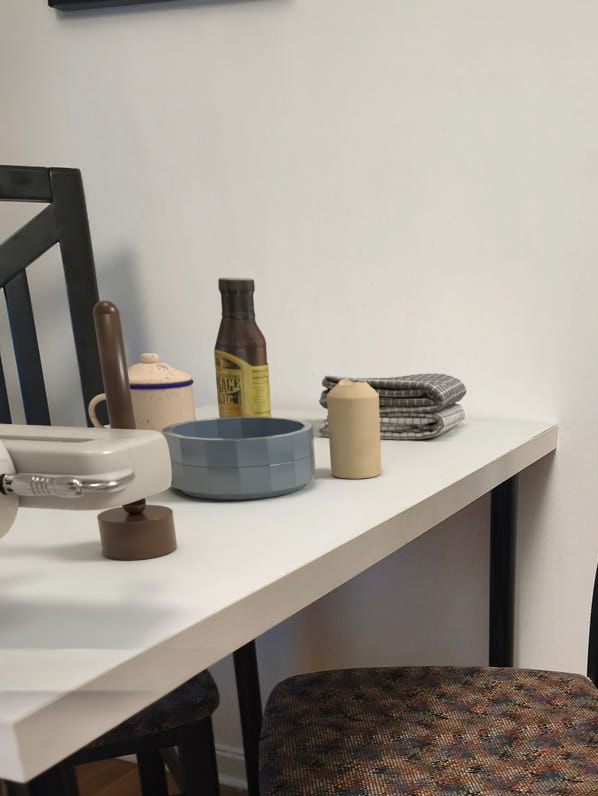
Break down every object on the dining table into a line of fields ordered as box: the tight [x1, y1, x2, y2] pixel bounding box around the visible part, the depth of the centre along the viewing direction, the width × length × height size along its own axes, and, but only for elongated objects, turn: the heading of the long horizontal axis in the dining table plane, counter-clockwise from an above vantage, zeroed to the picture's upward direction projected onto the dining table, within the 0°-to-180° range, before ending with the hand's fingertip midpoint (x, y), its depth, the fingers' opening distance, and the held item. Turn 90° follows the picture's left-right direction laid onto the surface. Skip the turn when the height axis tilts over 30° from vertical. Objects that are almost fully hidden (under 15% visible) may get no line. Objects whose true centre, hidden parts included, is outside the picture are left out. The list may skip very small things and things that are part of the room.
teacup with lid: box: [88, 352, 197, 435], centre depth 105 cm, size 12×9×12 cm
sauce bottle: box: [213, 277, 272, 418], centre depth 107 cm, size 6×6×20 cm
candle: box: [327, 379, 382, 480], centre depth 96 cm, size 6×6×10 cm
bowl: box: [162, 416, 317, 501], centre depth 91 cm, size 15×15×6 cm
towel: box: [318, 372, 467, 440], centre depth 124 cm, size 15×18×8 cm
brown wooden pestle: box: [92, 300, 178, 561], centre depth 68 cm, size 6×6×19 cm
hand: (72, 438), depth 62 cm, fingers open, 8 cm apart
